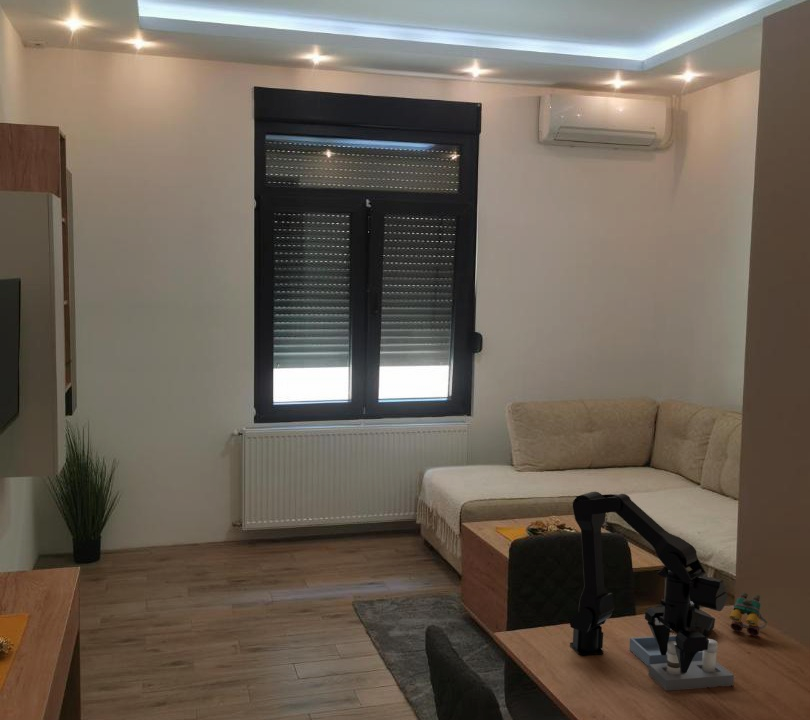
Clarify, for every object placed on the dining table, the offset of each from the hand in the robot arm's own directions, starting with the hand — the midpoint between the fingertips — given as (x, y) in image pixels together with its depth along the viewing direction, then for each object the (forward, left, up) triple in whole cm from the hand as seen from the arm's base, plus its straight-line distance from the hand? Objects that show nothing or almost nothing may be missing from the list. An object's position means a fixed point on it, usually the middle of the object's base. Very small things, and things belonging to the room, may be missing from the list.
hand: (673, 663), depth 196 cm
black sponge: (+19, +29, -5) cm, 35 cm away
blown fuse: (0, 0, -4) cm, 4 cm away
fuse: (+9, 0, -4) cm, 10 cm away
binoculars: (+34, +23, -4) cm, 41 cm away
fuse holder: (+5, 0, -4) cm, 6 cm away
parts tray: (+5, +12, -4) cm, 14 cm away
